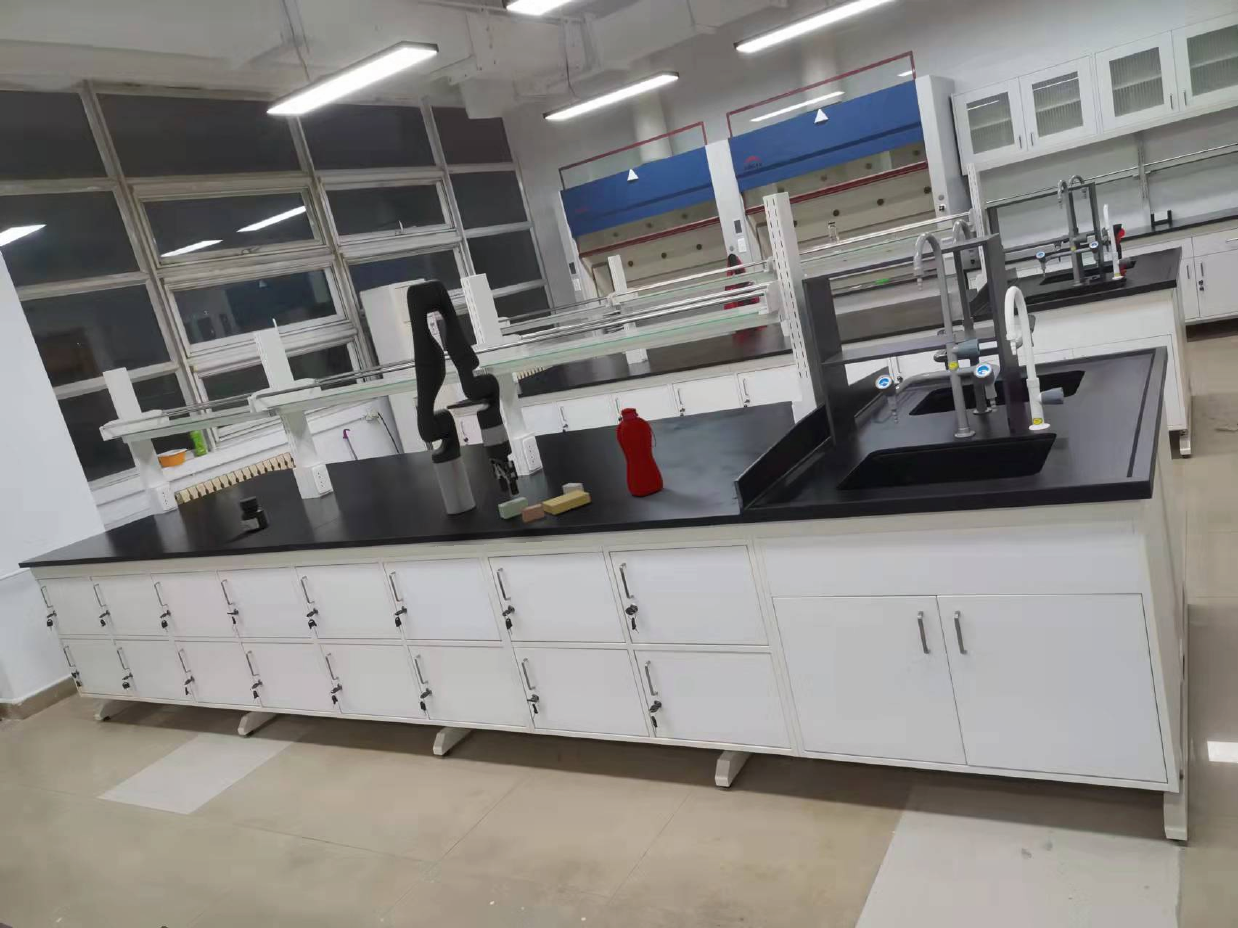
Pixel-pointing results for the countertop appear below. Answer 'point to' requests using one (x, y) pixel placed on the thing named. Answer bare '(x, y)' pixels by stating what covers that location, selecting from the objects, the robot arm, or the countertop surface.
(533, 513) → the rust brick
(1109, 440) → the countertop surface
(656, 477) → the water bottle
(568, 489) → the cream brick
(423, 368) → the robot arm
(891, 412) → the countertop surface
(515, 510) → the sage brick
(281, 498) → the countertop surface
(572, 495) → the mustard base brick
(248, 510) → the ink bottle
